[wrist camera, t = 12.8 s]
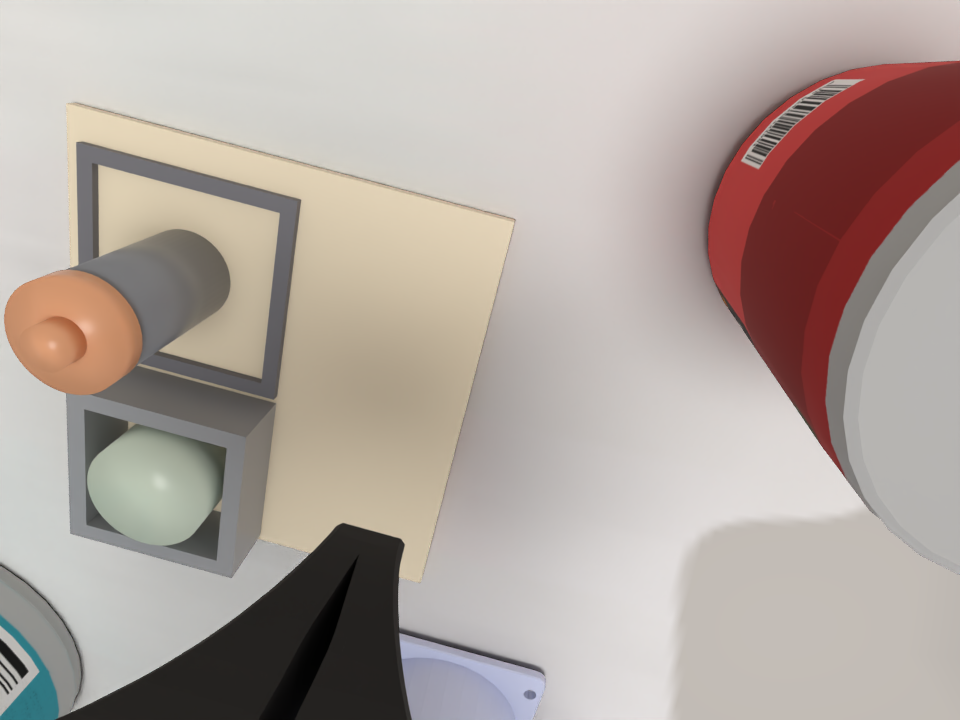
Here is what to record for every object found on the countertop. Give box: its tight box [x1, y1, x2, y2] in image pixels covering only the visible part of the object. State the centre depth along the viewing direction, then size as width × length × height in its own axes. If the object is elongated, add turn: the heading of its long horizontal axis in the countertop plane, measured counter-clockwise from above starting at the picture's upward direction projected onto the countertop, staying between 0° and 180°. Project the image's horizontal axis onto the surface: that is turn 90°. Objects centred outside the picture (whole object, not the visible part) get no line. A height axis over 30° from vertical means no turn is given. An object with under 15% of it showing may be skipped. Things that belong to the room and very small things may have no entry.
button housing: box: [66, 366, 276, 578], centre depth 23 cm, size 6×6×2 cm
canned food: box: [708, 61, 960, 575], centre depth 14 cm, size 8×8×11 cm
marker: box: [4, 229, 230, 395], centre depth 19 cm, size 3×3×6 cm
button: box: [87, 423, 227, 545], centre depth 23 cm, size 4×4×3 cm
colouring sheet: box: [66, 103, 515, 583], centre depth 23 cm, size 14×14×1 cm
